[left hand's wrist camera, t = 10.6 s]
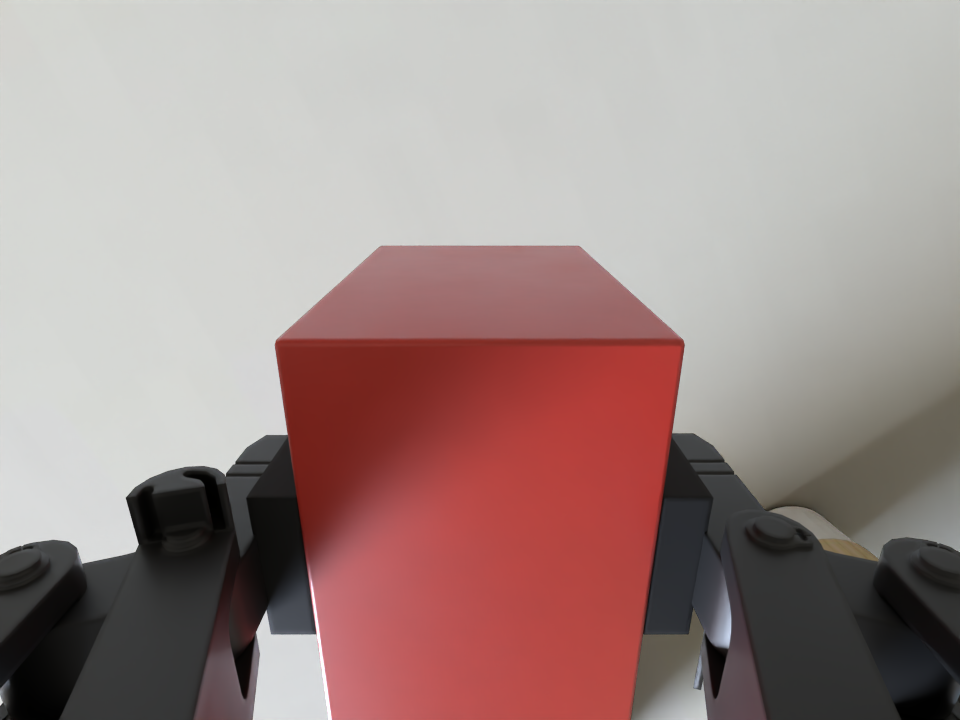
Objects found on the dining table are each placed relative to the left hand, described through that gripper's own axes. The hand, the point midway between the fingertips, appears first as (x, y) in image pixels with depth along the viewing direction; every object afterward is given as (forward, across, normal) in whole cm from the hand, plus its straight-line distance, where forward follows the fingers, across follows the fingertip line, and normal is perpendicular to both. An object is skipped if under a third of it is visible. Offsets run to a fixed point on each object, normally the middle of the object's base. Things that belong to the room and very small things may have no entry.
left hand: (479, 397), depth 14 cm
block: (+2, 0, 0) cm, 2 cm away
